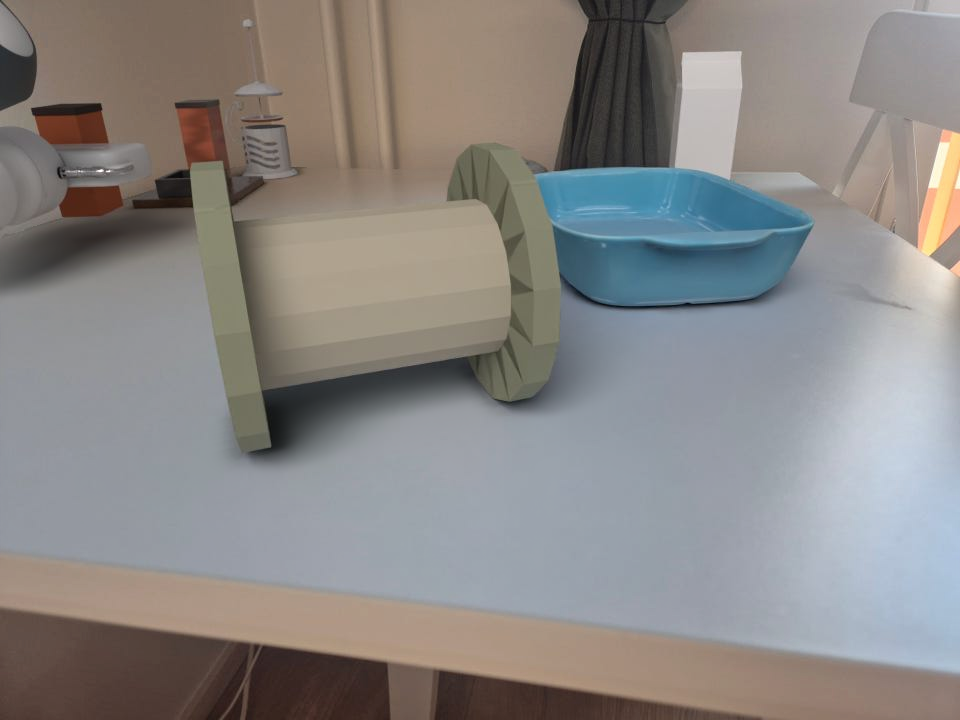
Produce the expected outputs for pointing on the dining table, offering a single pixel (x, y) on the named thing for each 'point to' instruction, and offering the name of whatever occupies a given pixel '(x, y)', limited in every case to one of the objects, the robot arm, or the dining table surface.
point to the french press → (263, 133)
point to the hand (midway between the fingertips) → (83, 154)
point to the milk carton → (706, 112)
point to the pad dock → (197, 158)
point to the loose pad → (78, 128)
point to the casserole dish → (668, 235)
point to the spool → (382, 287)
